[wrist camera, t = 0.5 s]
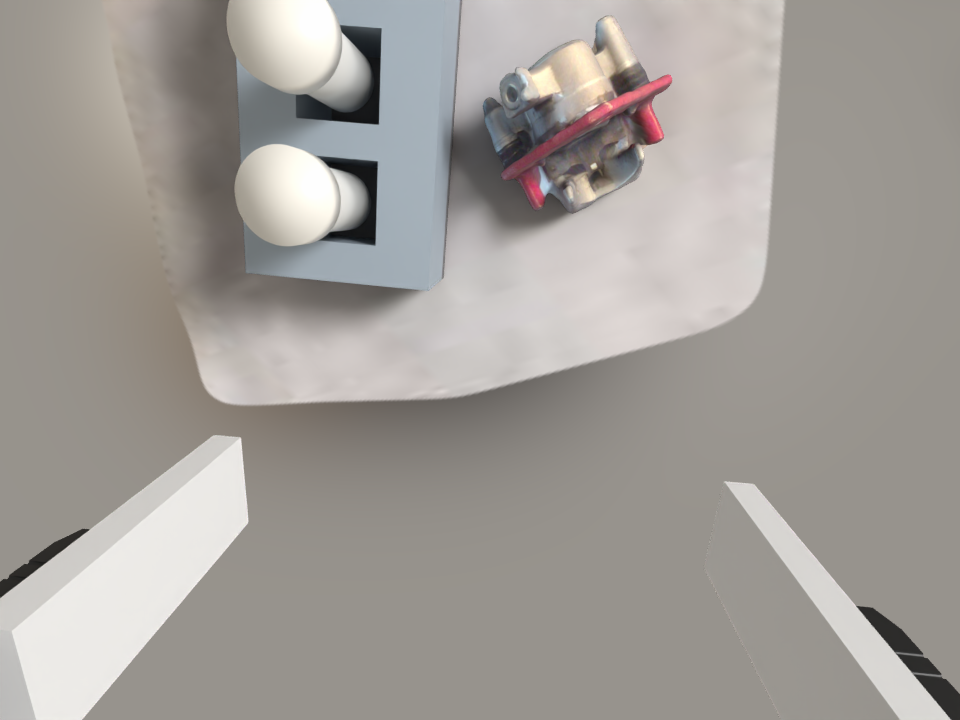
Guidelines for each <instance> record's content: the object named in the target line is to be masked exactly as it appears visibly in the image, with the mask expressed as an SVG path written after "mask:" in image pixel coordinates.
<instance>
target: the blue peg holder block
mask: <svg viewBox="0 0 960 720" xmlns="http://www.w3.org/2000/svg"><path fill="white" fill-rule="evenodd" d="M327 1H328V2H329V4H330V5H331V7H332V8H333V10H334V12H335V13H336V16H337V18H338V21H339V24H340V27H341V32H342V33H343V34H344V35H345V36H346V37H347V38H348V39H349V40H350V41H351V42H352V43H353V44H354V46H355V47H356V48H357V49H358V50H359V51H360V52H361V53H362V54H363V55H364V56H365V57H366V59H367V60H368V61H369V63H370V65H371V68H372V71H373V76H374V87H373V91H372V94H371V96H370V98H369V100H368V101H367V103H366V104H365V105H364V106H363V107H361V108H360V109H358V110H356V111H353V112H339V111H336V110H334V109H332V108H330V107H329V106H327V105H325V104H323V103H322V102H320V101H318V100H316V99H315V98H313V97H311V96H310V95H308V94H301V95H294V94H288V93H285V92H282V91H280V90H278V89H275V88H274V87H272V86H270V85H268V84H266V83H264V82H262V81H260V80H259V79H257V78H255V77H254V76H253V75H251V74H250V73H249V72H248V71H247V70H246V69H245V68H244V67H243V66H242V64H241V63H240V62H239V60H238V59H237V57H236V65H237V88H238V110H239V133H240V156H241V164H242V163H243V161H244V160H245V159H246V157H247V156H248V155H250V154H251V153H252V152H253V151H255V150H256V149H258V148H260V147H263V146H266V145H272V144H283V145H288V146H291V147H295V148H298V149H301V150H305V151H308V152H310V153H312V154H314V155H315V156H317V157H319V158H320V159H321V160H322V161H324V163H325V164H326V165H327V166H328V167H329V168H333V169H337V170H341V171H345V172H349V173H352V174H354V175H355V176H357V177H358V178H360V179H361V180H362V181H363V182H364V184H365V185H366V187H367V189H368V191H369V194H370V198H371V208H370V212H369V215H368V217H367V219H366V220H365V221H364V222H363V224H361V225H360V226H359V227H357V228H355V229H352V230H345V231H334V232H329V233H328V234H327V235H326V236H325V237H323V238H322V239H320V240H318V241H316V242H313V243H310V244H304V245H296V246H279V245H275V244H271V243H269V242H267V241H265V240H263V239H261V238H260V237H258V236H257V235H256V234H255V233H254V232H253V231H252V230H251V229H250V228H249V227H248V226H247V225H246V223H245V222H244V220H243V224H244V247H245V270H246V273H251V274H262V275H272V276H282V277H292V278H302V279H313V280H323V281H333V282H343V283H354V284H364V285H374V286H384V287H394V288H405V289H415V290H425V291H429V290H430V289H431V288H432V287H433V286H435V285H436V284H437V283H438V282H439V281H440V280H441V279H443V278H444V263H445V247H446V232H447V217H448V202H449V187H450V172H451V157H452V142H453V127H454V112H455V96H456V81H457V66H458V51H459V36H460V21H461V6H462V0H327Z"/></svg>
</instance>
